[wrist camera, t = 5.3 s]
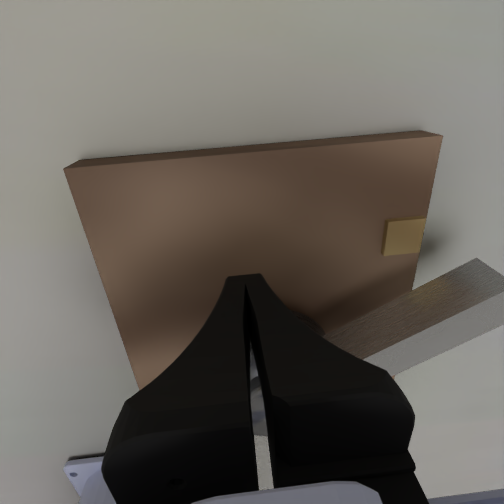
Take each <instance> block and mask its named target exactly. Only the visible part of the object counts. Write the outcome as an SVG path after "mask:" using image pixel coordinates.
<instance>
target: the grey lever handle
mask: <svg viewBox="0 0 504 504" xmlns="http://www.w3.org/2000/svg"><path fill="white" fill-rule="evenodd" d="M290 311H291V312H292V313H293V314H294V315H295V316H297V317H298V318H299V319H300V320H301V321H302V322H303V323H304V324H306V325H307V326H308V327H309V328H310V329H312V330H313V331H314V332H316V333H317V334H318V335H320V336H321V337H323V338H324V339H326V340H328V341H329V342H331V343H332V344H334V345H335V346H337V347H339V348H340V349H342V350H344V351H346V352H348V353H350V354H352V355H354V356H355V357H357V358H360V359H362V360H364V361H366V362H369V363H371V364H373V365H375V366H378V367H380V368H382V369H384V370H386V371H387V372H388V373H389V374H390V376H394V375H396V374H398V373H400V372H402V371H404V370H407V369H409V368H411V367H413V366H415V365H417V364H419V363H422V362H424V361H426V360H428V359H430V358H432V357H435V356H437V355H439V354H441V353H443V352H445V351H448V350H450V349H452V348H454V347H456V346H458V345H460V344H463V343H465V342H467V341H469V340H471V339H473V338H476V337H478V336H480V335H482V334H484V333H486V332H488V331H491V330H493V329H495V328H497V327H499V326H501V325H504V276H503V275H501V274H500V273H498V272H497V271H495V270H494V269H492V268H491V267H489V266H488V265H487V264H485V263H484V262H482V261H481V260H479V259H478V258H475V259H473V260H471V261H469V262H467V263H465V264H463V265H461V266H459V267H457V268H455V269H453V270H451V271H449V272H448V273H446V274H444V275H442V276H440V277H438V278H436V279H434V280H432V281H430V282H428V283H426V284H424V285H422V286H420V287H418V288H416V289H414V290H412V291H410V292H408V293H406V294H404V295H403V296H401V297H399V298H397V299H395V300H393V301H391V302H389V303H387V304H385V305H383V306H381V307H379V308H377V309H375V310H373V311H371V312H369V313H367V314H365V315H363V316H361V317H359V318H358V319H356V320H354V321H352V322H350V323H348V324H346V325H344V326H342V327H340V328H338V329H336V330H334V331H332V332H330V333H328V334H325V332H324V330H323V329H322V328H321V326H320V325H319V324H318V323H317V322H316V321H314V320H313V319H312V318H310V317H308V316H306V315H304V314H302V313H299V312H296V311H292V310H290ZM250 394H251V410H252V421H253V432H254V435H260V436H268V435H267V426H266V418H265V410H264V402H263V396H262V391H261V386H260V381H259V377H258V372H257V368H256V363H255V359H254V354H253V350H252V345H251V340H250Z"/></svg>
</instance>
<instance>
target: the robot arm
mask: <svg viewBox="0 0 504 504" xmlns="http://www.w3.org/2000/svg"><path fill="white" fill-rule="evenodd" d="M250 340H251V345H252V350H253V354H254V359H255V363H256V368H257V372H258V377H259V381H260V386H261V391H262V396H263V402H264V410H265V418H266V426H267V435H268V443H269V451H270V460H271V468H272V476H273V485H274V489H268V490H260V491H259V486H258V475H257V464H256V453H255V443H254V432H253V421H252V410H251V394H250ZM414 422H415V414H414V412H413V409H412V407H411V405H410V403H409V401H408V400H407V398H406V396H405V395H404V393H403V392H402V390H401V389H400V388H399V386H398V385H397V383H396V382H395V381H394V379H393V378H392V377H391V376H390V374H389V373H388V372H387V371H386V370H384V369H382V368H380V367H378V366H375V365H373V364H371V363H369V362H366V361H364V360H362V359H360V358H357V357H355V356H354V355H352V354H350V353H348V352H346V351H344V350H342V349H340V348H339V347H337V346H335V345H334V344H332V343H331V342H329V341H328V340H326V339H324V338H323V337H321V336H320V335H318V334H317V333H316V332H314V331H313V330H312V329H310V328H309V327H308V326H307V325H306V324H304V323H303V322H302V321H301V320H300V319H299V318H298V317H297V316H295V315H294V314H293V313H292V312H291V311H290V310H289V309H288V308H287V306H286V305H285V304H284V303H283V302H282V301H281V300H280V299H279V297H278V296H277V295H276V294H275V293H274V291H273V290H272V289H271V287H270V286H269V285H268V283H267V282H266V280H265V278H264V277H263V275H262V274H260V273H256V274H246V275H237V276H228V277H227V278H226V280H225V284H224V287H223V289H222V292H221V294H220V296H219V298H218V300H217V302H216V304H215V306H214V308H213V310H212V312H211V313H210V315H209V317H208V318H207V320H206V322H205V323H204V325H203V326H202V328H201V329H200V331H199V332H198V334H197V335H196V336H195V337H194V339H193V340H192V341H191V343H190V344H189V345H188V346H187V347H186V348H185V350H184V351H183V352H182V353H181V354H180V355H179V356H178V357H177V358H176V360H175V361H174V362H173V363H172V364H170V365H169V366H168V367H167V368H166V369H165V370H164V371H163V372H162V373H161V374H160V375H159V376H158V377H156V378H155V379H154V380H153V381H152V382H150V383H149V384H148V385H146V386H145V387H144V388H142V389H141V390H140V391H139V392H137V393H136V394H135V395H133V396H132V397H131V398H129V399H128V400H126V401H125V403H124V405H123V407H122V410H121V412H120V414H119V416H118V418H117V420H116V423H115V425H114V427H113V430H112V432H111V435H110V438H109V442H108V445H107V448H106V451H105V455H104V456H102V457H94V458H85V459H77V460H70V461H68V462H66V464H65V466H64V472H65V473H66V475H67V477H68V478H69V480H70V482H71V483H72V485H73V486H74V488H75V490H76V491H77V493H78V494H79V496H80V500H79V503H78V504H504V489H498V490H491V491H483V492H476V493H469V494H461V495H454V496H446V497H439V498H431V499H427V498H426V496H425V494H424V492H423V490H422V488H421V486H420V484H419V482H418V480H417V478H416V476H415V474H414V472H413V471H415V469H416V467H415V463H414V461H413V459H412V457H411V455H410V453H409V451H408V446H409V442H410V439H411V435H412V431H413V428H414Z"/></svg>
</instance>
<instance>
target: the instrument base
mask: <svg viewBox="0 0 504 504" xmlns="http://www.w3.org/2000/svg"><path fill="white" fill-rule="evenodd" d="M442 138H443V135H438V134H434V133H430V132H425V131H409V132H398V133H386V134H374V135H363V136H351V137H340V138H328V139H317V140H305V141H293V142H282V143H270V144H259V145H247V146H236V147H224V148H212V149H201V150H189V151H178V152H166V153H155V154H143V155H131V156H120V157H108V158H97V159H85V160H79V161H77V162H75V163H73V164H71V165H69V166H67V167H65V168H64V169H63V170H64V173H65V176H66V178H67V181H68V184H69V187H70V190H71V193H72V196H73V199H74V202H75V205H76V207H77V210H78V213H79V216H80V219H81V222H82V225H83V228H84V231H85V233H86V236H87V239H88V242H89V245H90V248H91V251H92V254H93V257H94V260H95V262H96V265H97V268H98V271H99V274H100V277H101V280H102V283H103V286H104V289H105V291H106V294H107V297H108V300H109V303H110V306H111V309H112V312H113V315H114V318H115V320H116V323H117V326H118V329H119V332H120V335H121V338H122V341H123V344H124V346H125V349H126V352H127V355H128V358H129V361H130V364H131V367H132V370H133V373H134V375H135V378H136V381H137V384H138V387H139V390H141V389H142V388H144V387H145V386H146V385H148V384H149V383H150V382H152V381H153V380H154V379H155V378H156V377H158V376H159V375H160V374H161V373H162V372H163V371H164V370H165V369H166V368H167V367H168V366H169V365H170V364H172V363H173V362H174V361H175V360H176V358H177V357H178V356H179V355H180V354H181V353H182V352H183V351H184V350H185V348H186V347H187V346H188V345H189V344H190V343H191V341H192V340H193V339H194V337H195V336H196V335H197V334H198V332H199V331H200V329H201V328H202V326H203V325H204V323H205V322H206V320H207V318H208V317H209V315H210V313H211V312H212V310H213V308H214V306H215V304H216V302H217V300H218V298H219V296H220V294H221V292H222V289H223V287H224V284H225V280H226V278H227V277H228V276H237V275H246V274H256V273H260V274H262V275H263V277H264V278H265V280H266V282H267V283H268V285H269V286H270V287H271V289H272V290H273V291H274V293H275V294H276V295H277V296H278V297H279V299H280V300H281V301H282V302H283V303H284V304H285V305H286V306H287V308H288V309H289V310H292V311H296V312H299V313H302V314H304V315H306V316H308V317H310V318H312V319H313V320H314V321H316V322H317V323H318V324H319V325H320V326H321V328H322V329H323V330H324V332H325V334H328V333H330V332H332V331H334V330H336V329H338V328H340V327H342V326H344V325H346V324H348V323H350V322H352V321H354V320H356V319H358V318H359V317H361V316H363V315H365V314H367V313H369V312H371V311H373V310H375V309H377V308H379V307H381V306H383V305H385V304H387V303H389V302H391V301H393V300H395V299H397V298H399V297H401V296H403V295H404V294H406V293H408V292H410V291H412V287H413V282H414V277H415V272H416V267H417V262H418V257H419V252H420V247H421V243H422V238H423V233H424V228H425V223H426V218H427V213H428V208H429V203H430V198H431V193H432V188H433V183H434V178H435V173H436V168H437V163H438V158H439V153H440V148H441V143H442ZM391 377H392V378H393V379H394V377H395V375H394V376H391Z"/></svg>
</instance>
